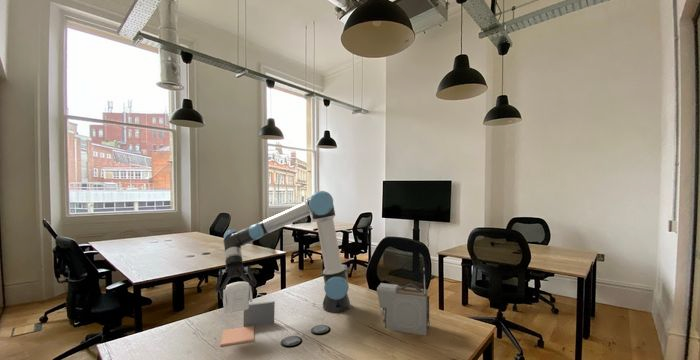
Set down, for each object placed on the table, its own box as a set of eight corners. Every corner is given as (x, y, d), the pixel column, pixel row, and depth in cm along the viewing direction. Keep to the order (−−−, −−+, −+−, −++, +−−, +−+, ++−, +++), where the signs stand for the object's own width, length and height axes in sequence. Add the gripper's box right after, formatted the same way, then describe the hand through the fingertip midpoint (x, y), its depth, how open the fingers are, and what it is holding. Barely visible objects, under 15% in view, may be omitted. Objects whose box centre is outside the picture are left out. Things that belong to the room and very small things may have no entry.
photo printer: (247, 306, 131) (248, 278, 132) (250, 309, 127) (250, 281, 128) (223, 311, 125) (224, 282, 126) (225, 314, 122) (226, 285, 122)
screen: (274, 322, 140) (274, 301, 140) (274, 323, 138) (274, 302, 139) (243, 326, 135) (243, 304, 136) (243, 327, 134) (243, 305, 134)
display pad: (253, 327, 134) (253, 325, 134) (253, 341, 122) (253, 339, 122) (223, 331, 130) (223, 329, 130) (220, 346, 118) (220, 344, 118)
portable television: (381, 318, 145) (381, 258, 146) (430, 325, 137) (429, 262, 138) (375, 328, 133) (375, 263, 135) (428, 337, 125) (427, 268, 127)
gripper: (256, 260, 146) (263, 302, 132) (207, 266, 135) (208, 312, 120) (259, 252, 142) (266, 294, 127) (208, 256, 130) (209, 303, 116)
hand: (238, 303), depth 124 cm, fingers closed on photo printer, 10 cm apart
